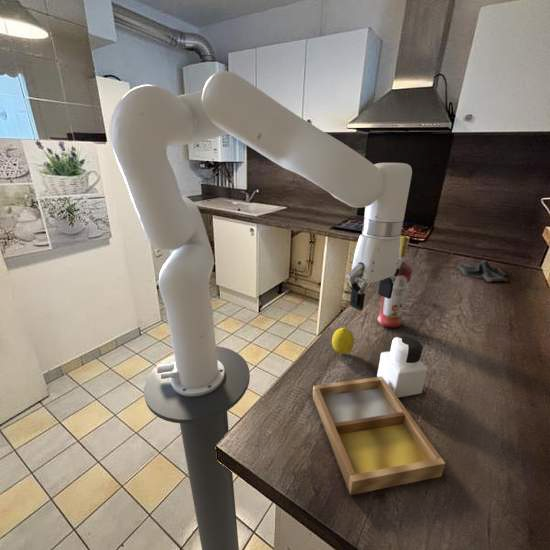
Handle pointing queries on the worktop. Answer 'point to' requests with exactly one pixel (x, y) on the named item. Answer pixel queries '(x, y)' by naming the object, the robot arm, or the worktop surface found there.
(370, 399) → the tray
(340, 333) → the lemon
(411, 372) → the medicine bottle
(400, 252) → the liquor
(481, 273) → the cloth
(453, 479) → the worktop surface
